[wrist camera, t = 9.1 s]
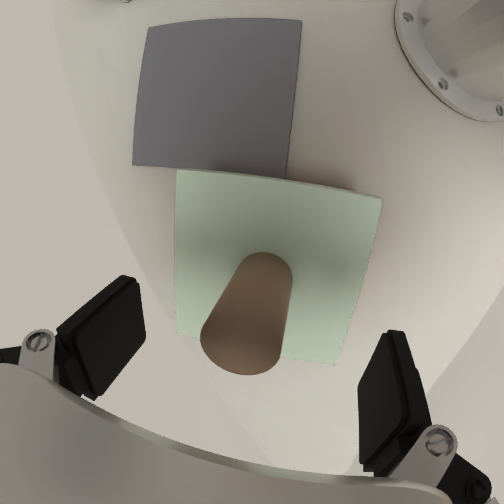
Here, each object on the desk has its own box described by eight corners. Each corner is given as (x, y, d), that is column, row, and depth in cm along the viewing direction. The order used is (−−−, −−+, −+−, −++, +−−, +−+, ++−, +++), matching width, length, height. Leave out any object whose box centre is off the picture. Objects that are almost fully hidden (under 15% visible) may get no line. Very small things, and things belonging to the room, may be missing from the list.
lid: (378, 196, 14) (426, 234, 8) (334, 355, 18) (335, 438, 12) (184, 168, 16) (107, 186, 9) (181, 325, 20) (135, 392, 13)
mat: (301, 22, 15) (301, 20, 14) (284, 179, 19) (284, 179, 19) (151, 29, 16) (148, 27, 16) (134, 164, 21) (132, 165, 21)
